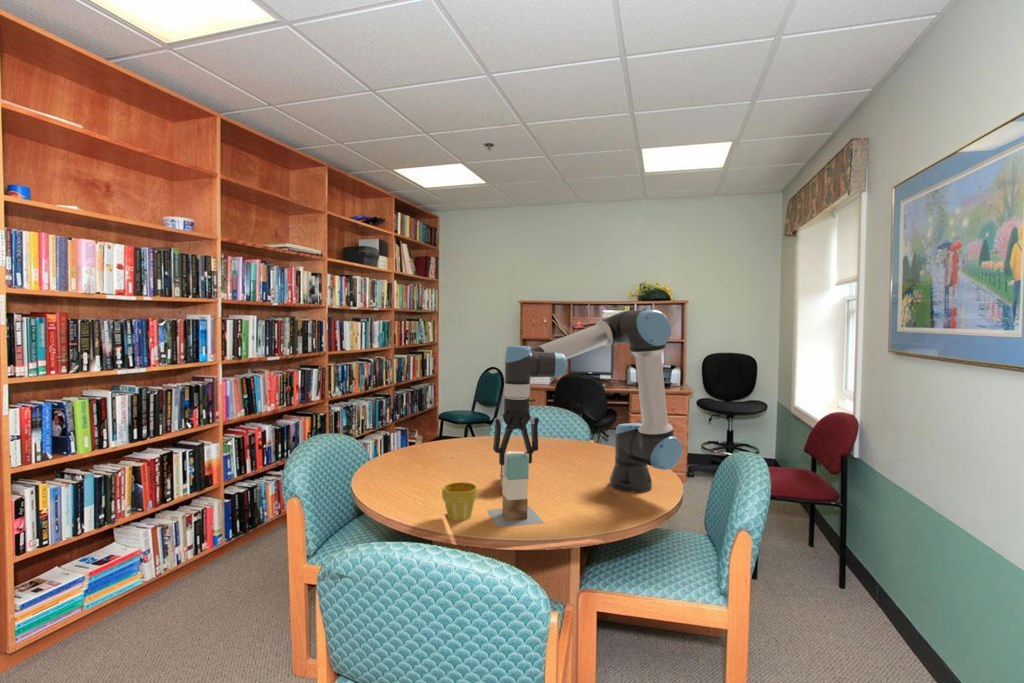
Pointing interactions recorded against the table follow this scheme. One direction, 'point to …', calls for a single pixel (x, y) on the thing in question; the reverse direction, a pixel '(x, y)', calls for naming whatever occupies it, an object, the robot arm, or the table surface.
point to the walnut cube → (515, 509)
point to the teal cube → (517, 466)
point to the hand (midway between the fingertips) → (515, 474)
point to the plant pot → (459, 499)
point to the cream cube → (515, 488)
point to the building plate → (502, 521)
